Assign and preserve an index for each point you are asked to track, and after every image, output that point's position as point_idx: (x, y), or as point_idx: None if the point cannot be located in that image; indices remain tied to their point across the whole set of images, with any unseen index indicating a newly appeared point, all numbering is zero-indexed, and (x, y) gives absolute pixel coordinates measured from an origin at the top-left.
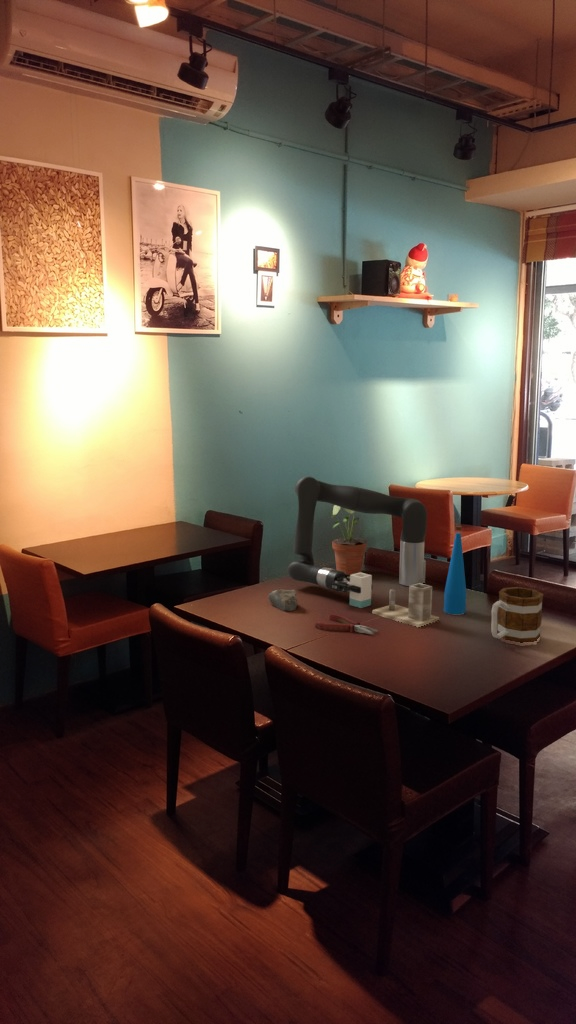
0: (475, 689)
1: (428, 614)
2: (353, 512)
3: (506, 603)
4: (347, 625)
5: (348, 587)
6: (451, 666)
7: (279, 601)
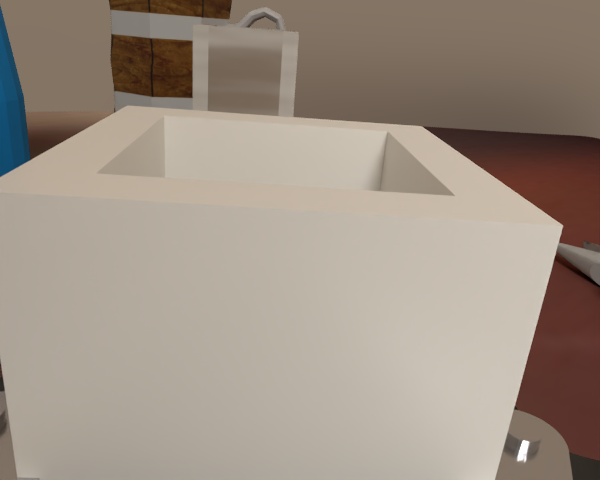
0: (493, 133)
1: None
2: None
3: (227, 18)
4: None
5: (582, 470)
6: (466, 151)
7: None
